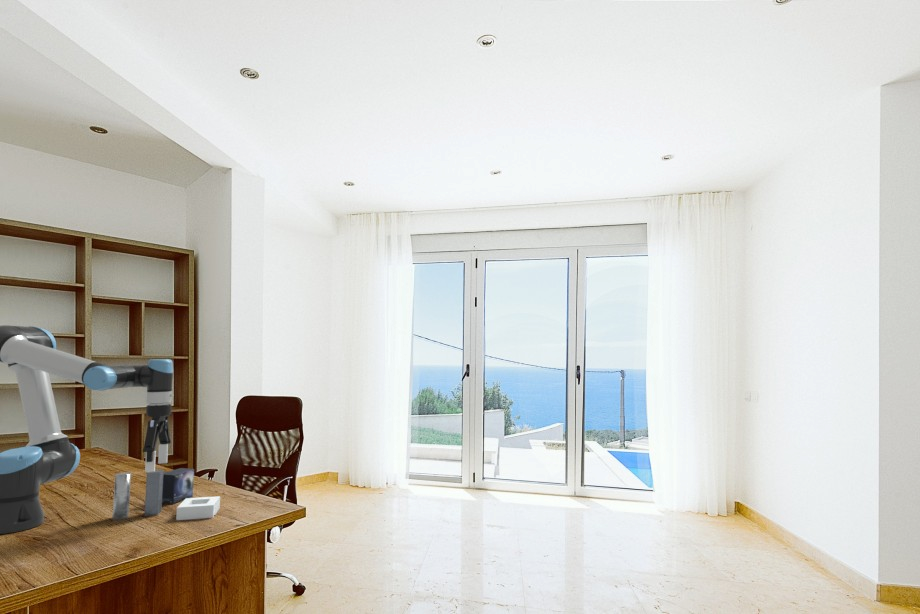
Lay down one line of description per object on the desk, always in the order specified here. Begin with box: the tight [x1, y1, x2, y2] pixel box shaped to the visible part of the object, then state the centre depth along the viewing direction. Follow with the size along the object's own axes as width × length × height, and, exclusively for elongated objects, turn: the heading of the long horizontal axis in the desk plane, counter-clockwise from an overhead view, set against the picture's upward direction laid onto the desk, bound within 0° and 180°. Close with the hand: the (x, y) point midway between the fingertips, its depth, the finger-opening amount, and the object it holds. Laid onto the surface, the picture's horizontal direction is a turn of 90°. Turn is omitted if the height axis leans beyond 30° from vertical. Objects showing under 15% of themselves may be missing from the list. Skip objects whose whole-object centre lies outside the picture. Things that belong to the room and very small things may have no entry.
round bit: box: [112, 472, 132, 521], centre depth 170 cm, size 4×4×14 cm
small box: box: [162, 467, 195, 505], centre depth 190 cm, size 11×6×10 cm, turn 168°
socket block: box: [175, 495, 221, 521], centre depth 174 cm, size 11×11×4 cm
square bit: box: [143, 469, 165, 517], centre depth 174 cm, size 4×4×14 cm
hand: (156, 467), depth 175 cm, fingers open, 13 cm apart
